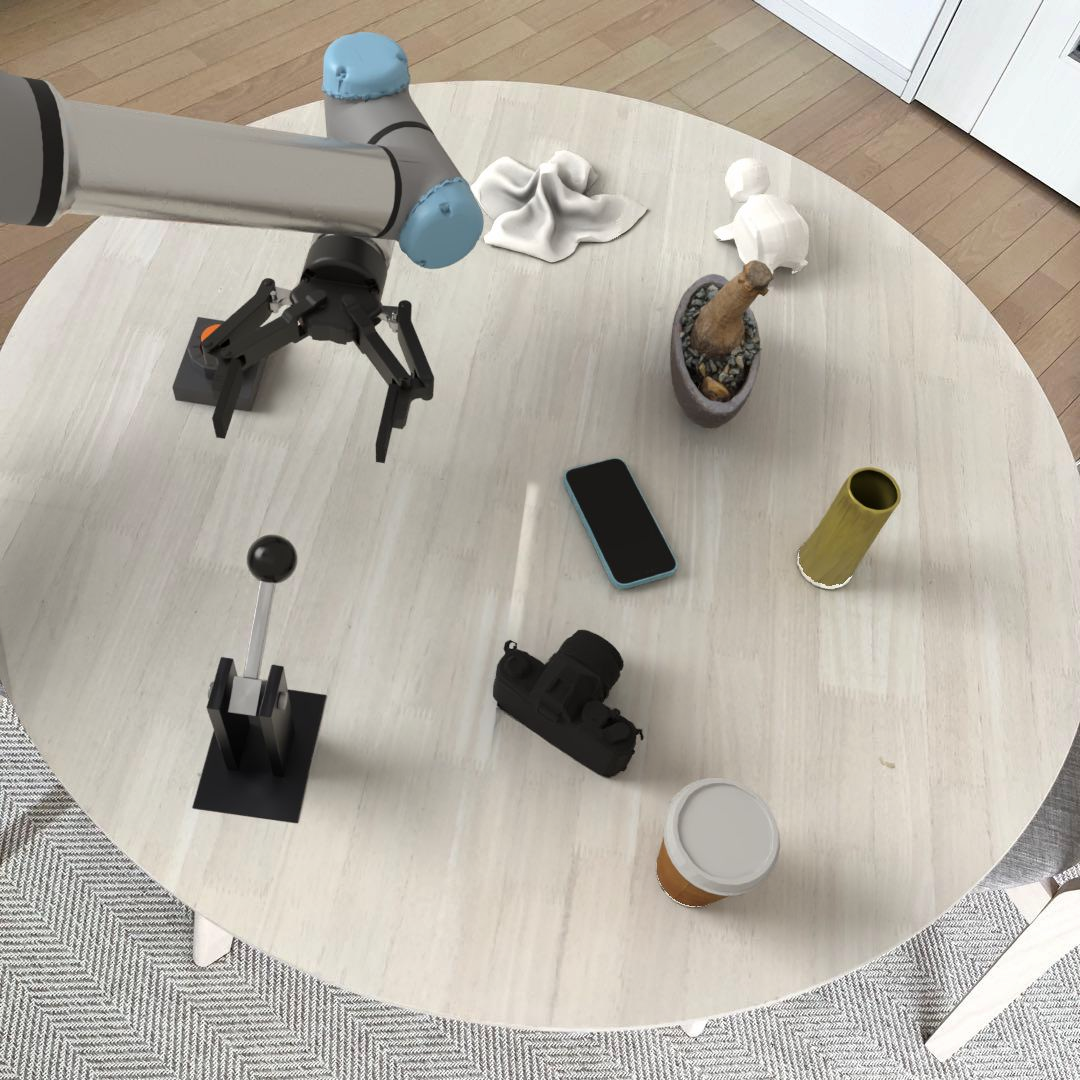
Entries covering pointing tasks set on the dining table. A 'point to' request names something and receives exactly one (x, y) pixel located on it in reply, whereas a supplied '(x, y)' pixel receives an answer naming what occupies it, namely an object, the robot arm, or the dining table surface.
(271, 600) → the lever
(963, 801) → the dining table surface
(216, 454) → the dining table surface
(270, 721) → the bracket
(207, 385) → the control block
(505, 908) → the dining table surface
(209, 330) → the button
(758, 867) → the disposable coffee cup
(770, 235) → the white figurine
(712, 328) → the planter
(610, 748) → the film camera
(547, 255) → the cloth
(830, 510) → the vase
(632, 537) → the smartphone
